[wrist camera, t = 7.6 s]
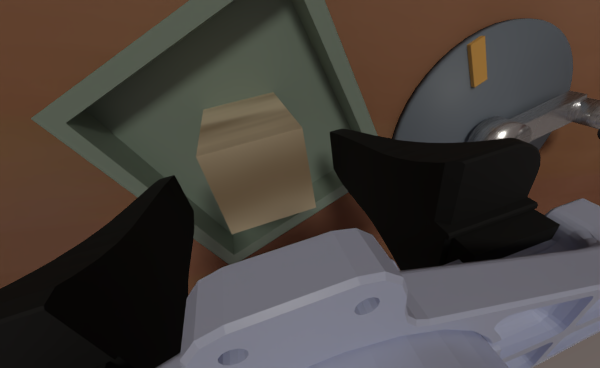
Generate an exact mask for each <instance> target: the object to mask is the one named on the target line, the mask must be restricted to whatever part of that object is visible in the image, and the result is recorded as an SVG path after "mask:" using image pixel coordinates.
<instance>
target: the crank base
mask: <svg viewBox="0 0 600 368" xmlns="http://www.w3.org/2000/svg"><path fill="white" fill-rule="evenodd" d="M572 72H573V60H572V53H571V48H570V45H569V43H568V41H567V38H566V37H565V35H564V34H563V33H562V32H561V30H560V29H558V28H557V27H556V26H554V25H553V24H551V23H549V22H546V21H543V20H538V19H513V20H506V21H503V22H499V23H495V24H493V25H490V26H488V27H486V28H483V29H481V30H479V31H477V32H476V33H474V34H472V35H471V36H469V37H467V38H466V39H464V40H463V41H462V42H460V43H459V44H458V45H456V46H455V47H454V48H452V49H451V50H450V51H449V52H448V53H447V54H446V55H445V56H443V57H442V58H441V59H440V60H439V61H438V62H437V63H436V64H435V65H434V67H433V68H432V69H431V70H430V71H429V72H428V73H427V74H426V76H425V77H424V78H423V80H422V81H421V82H420V83H419V85H418V86H417V87H416V89H415V91H414V92H413V94H412V95H411V97H410V98H409V100H408V102H407V103H406V105H405V107H404V109H403V111H402V113H401V115H400V118H399V120H398V123H397V125H396V128H395V130H394V134H393V138H392V139H396V140H403V141H412V142H426V143H459V142H467V141H468V139H469V137H470V135H471V133H472V132H473V130H474V129H475V128H476V127H477V126H478V125H479V124H480V123H481V122H483V121H484V120H486V119H487V118H490V117H493V116H501V117H504V118H507V119H510V118H512V117H514V116H516V115H518V114H521V113H523V112H525V111H527V110H529V109H531V108H533V107H535V106H538V105H540V104H542V103H544V102H546V101H548V100H550V99H552V98H555V97H557V96H559V95H561V94H563V93H565V92H567V91H569V90H570V85H571V81H572ZM551 132H552V131H551ZM551 132H549V133H547V134H545V135H543V136H541V137H539V138H537V139H535V140H532V141H530V144H532V145H534V146H535V147H536V148H538V151H539V149H540V148H541V147H542V145H543V144H544V142H545V141H546V140H547V138H548V136H549V135H550V133H551Z"/></svg>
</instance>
